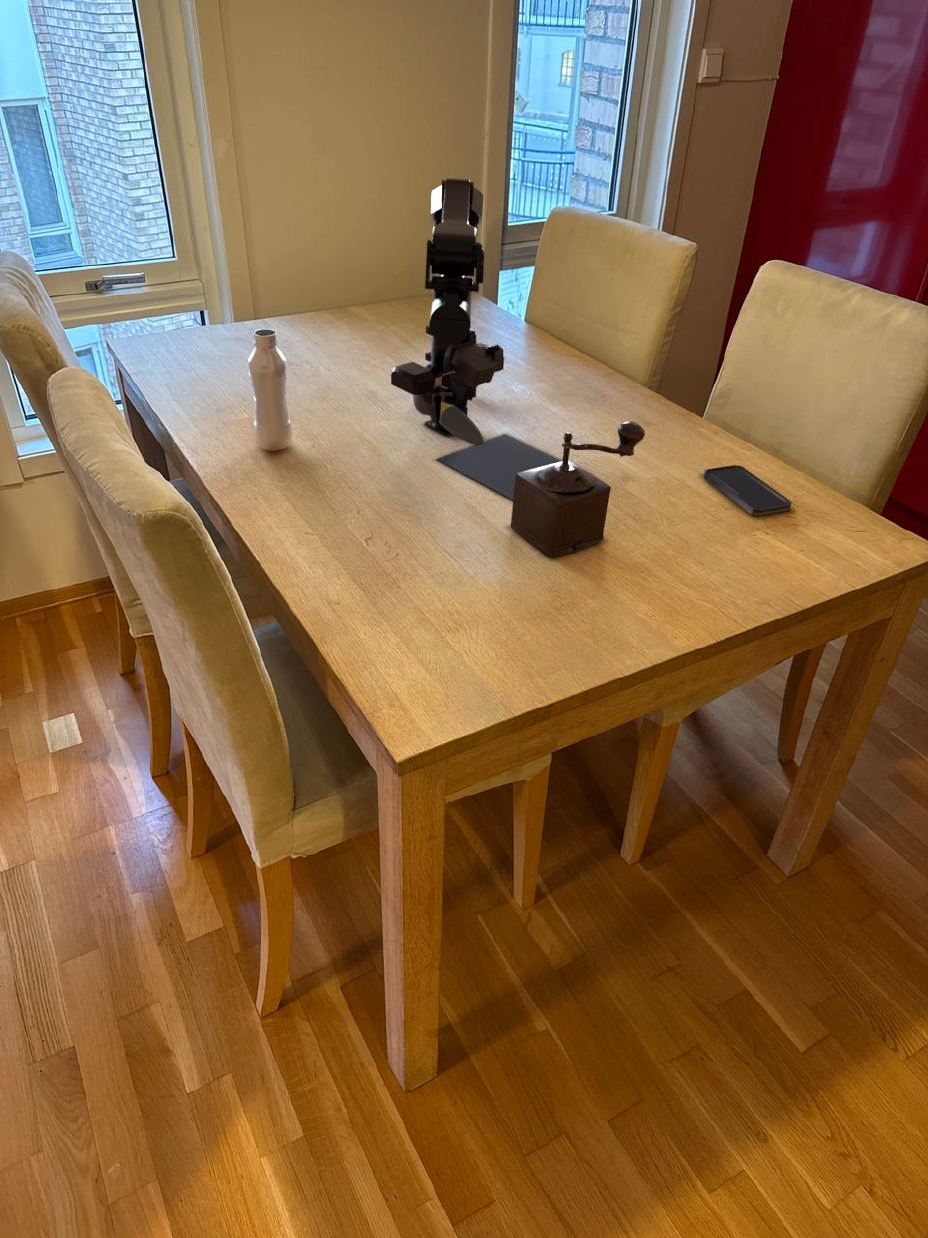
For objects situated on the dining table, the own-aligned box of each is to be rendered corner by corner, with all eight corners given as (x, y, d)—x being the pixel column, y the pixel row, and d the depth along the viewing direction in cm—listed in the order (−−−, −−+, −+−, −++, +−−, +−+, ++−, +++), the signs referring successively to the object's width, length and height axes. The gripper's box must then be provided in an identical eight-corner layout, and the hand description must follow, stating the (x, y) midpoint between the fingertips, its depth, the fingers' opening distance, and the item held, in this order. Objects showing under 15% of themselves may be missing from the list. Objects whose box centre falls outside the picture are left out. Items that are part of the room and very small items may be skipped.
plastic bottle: (300, 442, 158) (292, 329, 146) (281, 458, 153) (272, 341, 141) (267, 435, 160) (257, 323, 148) (247, 450, 154) (236, 335, 143)
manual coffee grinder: (552, 561, 130) (567, 447, 120) (508, 527, 137) (518, 417, 127) (632, 535, 137) (652, 425, 127) (586, 504, 145) (601, 398, 134)
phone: (739, 464, 157) (794, 503, 146) (738, 470, 157) (792, 510, 146) (701, 469, 154) (754, 510, 143) (700, 475, 155) (753, 517, 144)
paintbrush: (500, 444, 139) (502, 414, 136) (475, 452, 136) (476, 421, 133) (423, 401, 151) (424, 372, 148) (399, 407, 148) (399, 378, 145)
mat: (435, 459, 155) (435, 458, 155) (505, 434, 165) (505, 433, 165) (518, 504, 144) (519, 503, 144) (587, 474, 154) (588, 473, 153)
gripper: (439, 350, 124) (435, 454, 133) (533, 325, 134) (524, 422, 143) (388, 327, 130) (388, 428, 139) (482, 305, 140) (476, 400, 150)
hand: (446, 420), depth 143 cm, fingers closed on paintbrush, 4 cm apart
